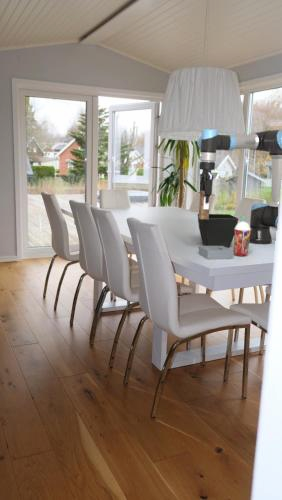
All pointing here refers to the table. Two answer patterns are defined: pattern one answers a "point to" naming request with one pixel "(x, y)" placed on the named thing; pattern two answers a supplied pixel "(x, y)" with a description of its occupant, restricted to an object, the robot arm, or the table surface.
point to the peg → (202, 212)
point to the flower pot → (217, 229)
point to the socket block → (215, 252)
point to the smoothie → (241, 238)
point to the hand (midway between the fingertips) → (204, 208)
